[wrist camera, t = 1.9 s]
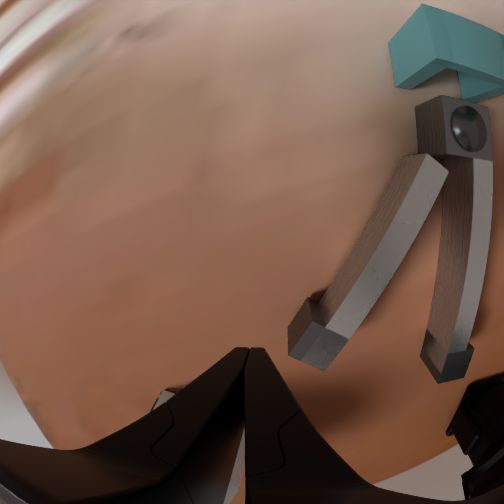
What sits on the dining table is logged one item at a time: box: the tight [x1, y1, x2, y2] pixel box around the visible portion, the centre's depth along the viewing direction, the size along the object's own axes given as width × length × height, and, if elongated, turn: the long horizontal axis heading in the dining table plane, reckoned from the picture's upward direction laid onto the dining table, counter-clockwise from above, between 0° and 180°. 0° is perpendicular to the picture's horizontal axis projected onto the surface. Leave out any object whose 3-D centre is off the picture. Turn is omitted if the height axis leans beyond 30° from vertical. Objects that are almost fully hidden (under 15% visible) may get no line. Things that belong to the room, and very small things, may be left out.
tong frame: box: [415, 95, 493, 384], centre depth 14 cm, size 16×4×4 cm, turn 2°
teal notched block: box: [388, 4, 504, 103], centre depth 10 cm, size 3×6×5 cm, turn 92°
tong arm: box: [288, 154, 449, 371], centre depth 14 cm, size 12×2×3 cm, turn 152°
